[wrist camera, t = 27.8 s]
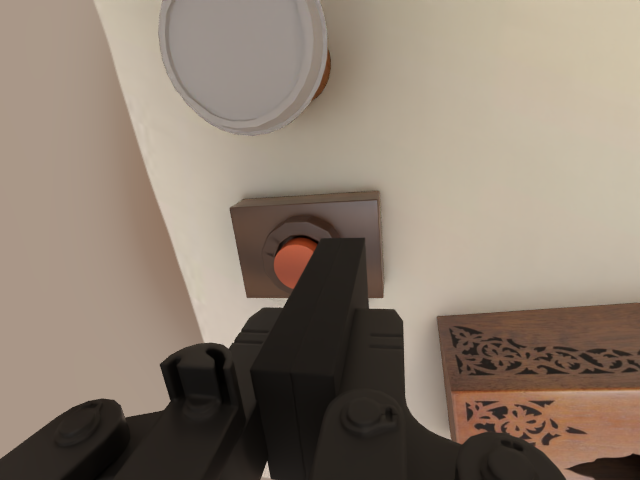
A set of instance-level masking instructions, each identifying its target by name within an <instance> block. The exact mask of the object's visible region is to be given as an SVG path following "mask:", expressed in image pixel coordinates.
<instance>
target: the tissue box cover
mask: <svg viewBox="0 0 640 480" xmlns="http://www.w3.org/2000/svg"><path fill="white" fill-rule="evenodd" d="M437 321H438V330H439V338H440V347H441V356H442V364H443V373H444V382H445V391H446V399H447V408H448V417H449V425H450V433H451V439H452V441H454V442H457V443H460V444H463V443H464V442H465V441H466V440H467V439H468V438H469V437H470V436H474V435H477V434H480V433H484V432H496V433H506V434H509V435H512V436H515V437H518V438H520V439H523V440H525V441H527V442H528V443H530V444H532V445H533V446H535V447H536V448H538V449H539V450H541V451H542V452H544V453H545V454H546V455H547V457H548V458H549V459H550V460H551V461H552V462H553V463H554V464H555V465H556V466H557V467H558V468H559V470H560V471H561V472H562V474H563V475H564V477H565V478H566V480H640V303H629V304H615V305H600V306H585V307H571V308H556V309H541V310H527V311H512V312H497V313H482V314H468V315H453V316H438V317H437Z"/></svg>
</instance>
